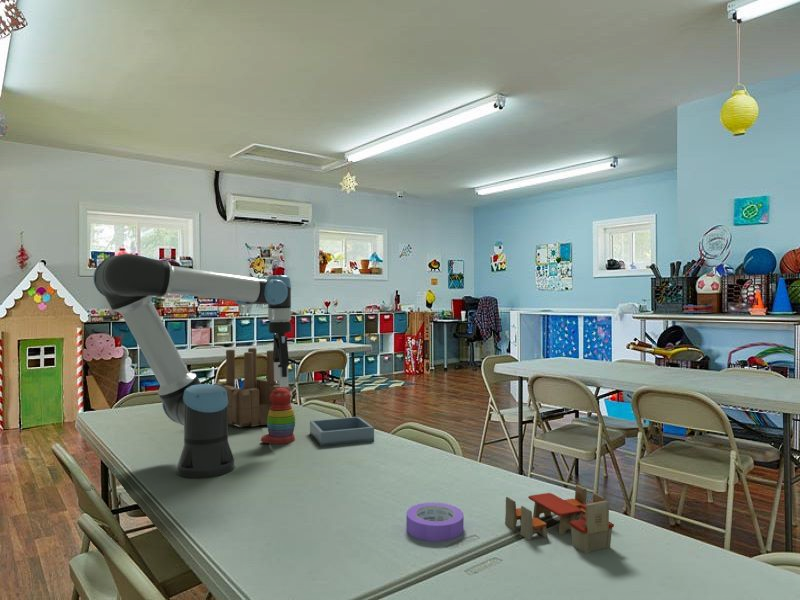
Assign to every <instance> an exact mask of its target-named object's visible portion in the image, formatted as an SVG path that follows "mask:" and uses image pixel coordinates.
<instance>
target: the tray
mask: <svg viewBox="0 0 800 600" xmlns="http://www.w3.org/2000/svg"><path fill="white" fill-rule="evenodd" d="M309 434H310V435H311V436H312V437H313V439H314V440H315V441H316V443H317V444H318V445H319V446H320V447H328V446H337V445H338V446H339V445H348V444H356V443H365V442H375V427H374V425H373V426H372V424H371V423H368V422H367V421H366V420H364V419H363V418H361V417H360V416H350V417H340V418H338V417H337V418H328V419H316V420H309Z"/></svg>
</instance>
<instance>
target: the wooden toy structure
mask: <svg viewBox="0 0 800 600" xmlns="http://www.w3.org/2000/svg"><path fill="white" fill-rule="evenodd" d="M235 351H236V350H235V349H226V350H225V369H226V370H225V373H226V374H225V375H226V377H225V378H226V381H220V382H216V383H212V385H219V386H221V387H223V388H225V389H226V391H227V397H228V425H231V426H234V425H237V426H239V427H241V428H242V427H248V426H251V427H254V426H264V425H266V426H267V417H268V412H269V409H270V406H271V405H273V404H272V403H271V401H270V398H269V397H270V394H271V393H272V392H273V390H275V389H277V388H285V387H280V381H274V361H273V349H272V350H266V379H263V378H258V376H257V375H258V374H257V373H258V371H257V369H258V368H257V363H258V362H257V359H258V357H257V355H258V354H257V348H256V347H249V348H247V351H246V352H244V353H243V359H244V360H243V361H244V362H243V366H244V367H243V369H244V370H243V371H244V372H243V374H244V376H243V377H244V379H243V380H242V388H239V387H236V362H235V361H236V356H235V355H236V352H235ZM288 388H289V392H290V394H291V388H290V385H289V384H288ZM291 399H292V398H291ZM291 399H290V402H289V404H290V405H291V406H292V404H291V402H292V401H291Z"/></svg>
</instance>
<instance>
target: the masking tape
mask: <svg viewBox="0 0 800 600" xmlns="http://www.w3.org/2000/svg"><path fill="white" fill-rule="evenodd" d="M405 516H406V526H405V529H406V532H407V534H409V535H410V536H412V537H414V538H415V539H419V540H423V541H431V542H439V541H440V542H442V541H448V540H452V539H455V538H458V537H459V536H461V535H462V534H463V532H464V518H465V517H464V512H463V511H462V509H460V508H458V507H457V506H456V505H452V504H450V503H449V504H448V503H445V502H444V503H443V502H423V503H418V504H415V505H412V506H411V507H409V508H408V509H407V510H406V515H405Z"/></svg>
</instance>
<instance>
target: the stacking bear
mask: <svg viewBox="0 0 800 600" xmlns="http://www.w3.org/2000/svg"><path fill="white" fill-rule="evenodd" d="M269 398H270V401H271V403H272V404H273V405H271V406H270V409H269V412H268V417H267V424H266V427H267V432H268V434H265V435H262V436H261V438H260V442H262V443H266V444H276V445H278V444H279V445H280V444H283V445H284V444H288V443H292V442H294V441H295V440H296V438H295V434H294V430H295V427H296V415H295V410H294V408H293V406H292V404H291V405H290V404H289V402H290V399H292V395H291V394H290V392H289V388H288V387H285V388H277V389H275V390H273V392H272V393H271V394H270V397H269Z"/></svg>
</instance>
